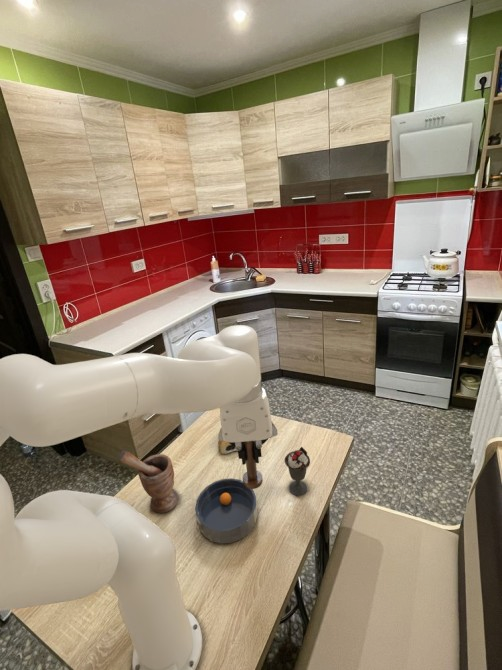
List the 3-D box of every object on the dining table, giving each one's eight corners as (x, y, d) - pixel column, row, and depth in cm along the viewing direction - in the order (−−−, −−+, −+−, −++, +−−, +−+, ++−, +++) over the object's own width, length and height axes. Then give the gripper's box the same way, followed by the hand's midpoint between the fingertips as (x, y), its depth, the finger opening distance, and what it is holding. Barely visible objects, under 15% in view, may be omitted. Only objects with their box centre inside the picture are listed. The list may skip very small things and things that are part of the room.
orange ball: (231, 506, 91) (228, 505, 88) (220, 504, 92) (217, 504, 89) (233, 493, 92) (230, 493, 90) (222, 492, 93) (219, 491, 91)
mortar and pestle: (145, 529, 87) (127, 470, 79) (132, 507, 93) (114, 450, 85) (185, 502, 93) (172, 445, 85) (170, 483, 100) (157, 428, 91)
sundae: (290, 501, 91) (288, 457, 85) (283, 481, 97) (280, 439, 91) (314, 495, 92) (313, 452, 86) (305, 476, 98) (304, 434, 92)
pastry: (215, 437, 116) (214, 428, 115) (235, 432, 118) (234, 423, 116) (221, 456, 108) (219, 446, 106) (242, 450, 109) (241, 441, 108)
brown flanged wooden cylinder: (263, 488, 76) (259, 445, 71) (243, 490, 76) (237, 447, 71) (262, 472, 80) (258, 430, 75) (243, 474, 80) (237, 432, 75)
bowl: (258, 542, 81) (257, 528, 79) (194, 547, 82) (191, 533, 80) (256, 489, 95) (255, 476, 93) (201, 494, 95) (199, 480, 93)
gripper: (199, 402, 64) (212, 475, 72) (285, 395, 64) (289, 469, 72) (203, 381, 71) (215, 450, 78) (281, 374, 71) (285, 444, 78)
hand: (250, 458), depth 75 cm, fingers closed on brown flanged wooden cylinder, 2 cm apart
